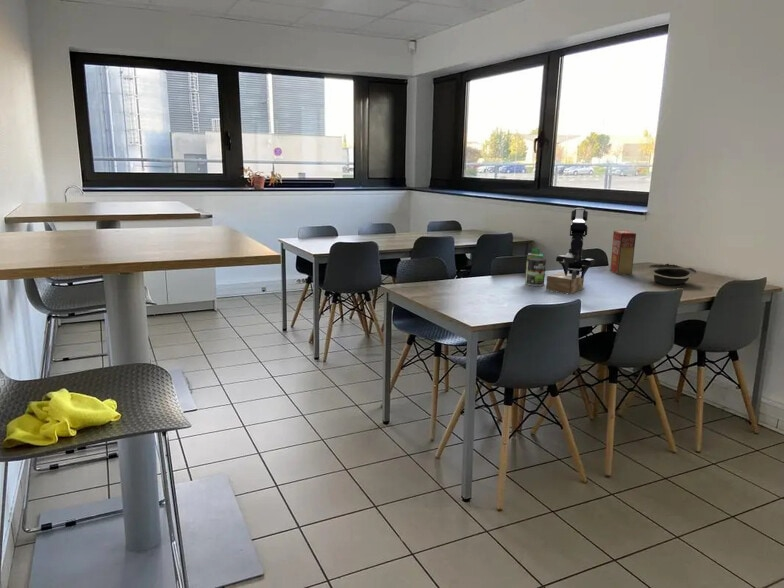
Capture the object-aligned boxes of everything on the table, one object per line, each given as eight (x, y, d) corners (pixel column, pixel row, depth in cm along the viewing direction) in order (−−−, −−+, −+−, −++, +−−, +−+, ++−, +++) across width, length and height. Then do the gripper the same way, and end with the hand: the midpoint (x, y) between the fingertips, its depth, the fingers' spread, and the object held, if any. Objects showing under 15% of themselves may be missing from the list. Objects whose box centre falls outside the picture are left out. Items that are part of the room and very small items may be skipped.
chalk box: (525, 274, 342) (527, 249, 338) (526, 271, 351) (528, 247, 347) (541, 275, 339) (543, 250, 336) (542, 272, 348) (544, 248, 344)
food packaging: (609, 270, 356) (613, 230, 350) (624, 270, 356) (628, 230, 350) (617, 274, 343) (621, 233, 337) (632, 274, 343) (637, 233, 337)
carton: (558, 285, 312) (560, 272, 310) (581, 289, 303) (583, 275, 301) (545, 289, 302) (547, 275, 300) (569, 294, 293) (570, 279, 291)
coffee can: (547, 285, 312) (549, 260, 308) (530, 286, 309) (532, 260, 306) (538, 281, 321) (540, 256, 318) (521, 282, 319) (523, 257, 315)
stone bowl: (675, 277, 336) (678, 262, 334) (703, 290, 313) (707, 274, 310) (637, 277, 332) (639, 262, 330) (662, 290, 309) (665, 274, 306)
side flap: (581, 289, 303) (583, 267, 300) (583, 289, 302) (585, 268, 299) (569, 293, 293) (571, 271, 290) (571, 293, 293) (573, 271, 290)
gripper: (551, 246, 289) (549, 276, 293) (587, 250, 277) (584, 282, 281) (562, 244, 297) (560, 273, 301) (597, 248, 285) (594, 278, 289)
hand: (573, 276), depth 293 cm, fingers open, 8 cm apart
